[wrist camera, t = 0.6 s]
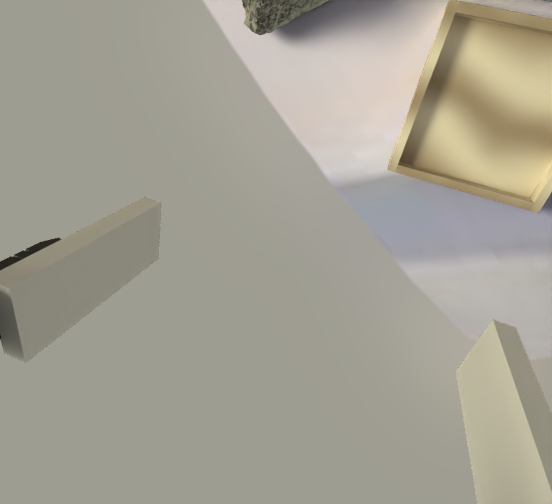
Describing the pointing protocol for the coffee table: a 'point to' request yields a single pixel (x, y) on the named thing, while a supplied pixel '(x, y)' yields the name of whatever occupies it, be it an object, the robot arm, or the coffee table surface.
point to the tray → (483, 108)
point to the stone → (275, 13)
